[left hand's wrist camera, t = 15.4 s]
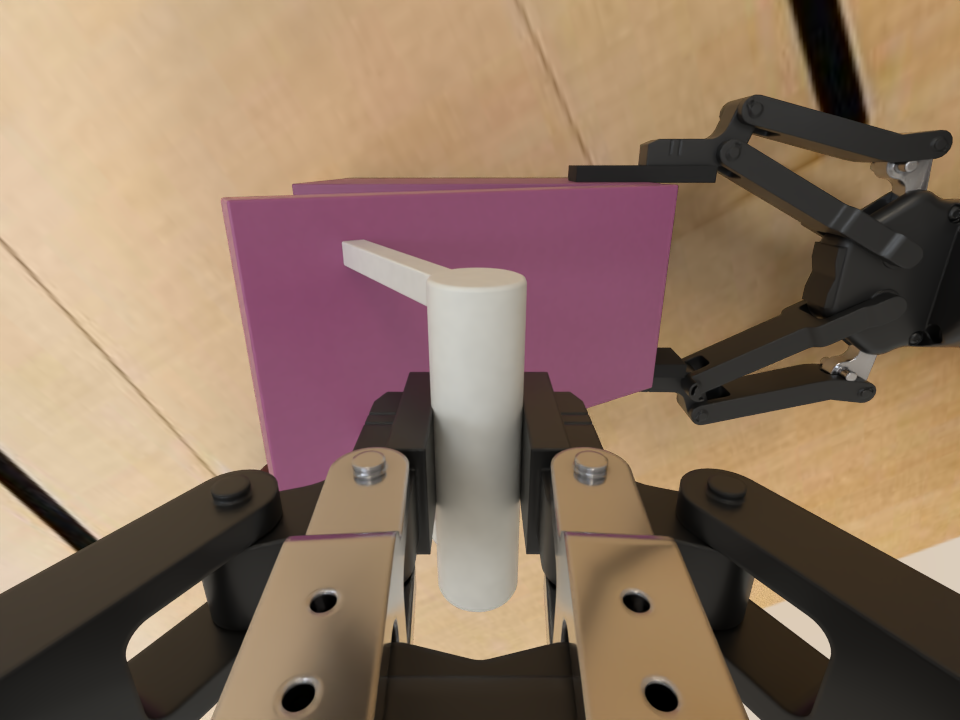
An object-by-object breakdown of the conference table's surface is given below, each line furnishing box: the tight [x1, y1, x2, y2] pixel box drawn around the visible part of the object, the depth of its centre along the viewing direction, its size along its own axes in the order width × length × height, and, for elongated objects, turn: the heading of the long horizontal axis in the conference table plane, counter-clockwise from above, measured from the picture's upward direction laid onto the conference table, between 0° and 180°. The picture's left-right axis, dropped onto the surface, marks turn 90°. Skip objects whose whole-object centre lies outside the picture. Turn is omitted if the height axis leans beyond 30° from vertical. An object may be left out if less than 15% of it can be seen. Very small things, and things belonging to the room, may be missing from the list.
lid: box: [221, 184, 678, 612], centre depth 16 cm, size 17×9×9 cm
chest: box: [292, 178, 660, 195], centre depth 29 cm, size 16×9×10 cm, turn 90°
